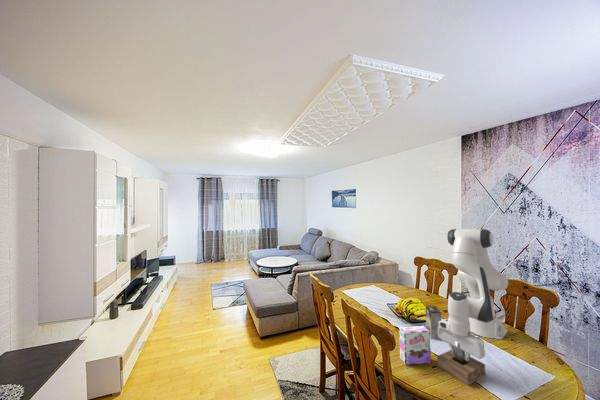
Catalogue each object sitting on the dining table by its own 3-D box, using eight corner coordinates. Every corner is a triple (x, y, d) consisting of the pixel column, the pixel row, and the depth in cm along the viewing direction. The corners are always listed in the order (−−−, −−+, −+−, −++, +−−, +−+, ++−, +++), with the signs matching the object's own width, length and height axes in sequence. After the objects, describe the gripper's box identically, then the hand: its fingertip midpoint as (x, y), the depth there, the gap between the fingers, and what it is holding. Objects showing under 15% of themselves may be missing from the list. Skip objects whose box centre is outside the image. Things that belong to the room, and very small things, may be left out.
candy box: (405, 365, 117) (404, 332, 118) (399, 358, 123) (398, 326, 124) (431, 363, 118) (430, 330, 119) (424, 356, 124) (423, 325, 125)
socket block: (454, 358, 122) (454, 348, 122) (485, 375, 110) (485, 364, 110) (437, 366, 116) (437, 356, 116) (467, 385, 104) (467, 374, 104)
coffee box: (426, 330, 149) (425, 305, 150) (436, 331, 148) (435, 306, 148) (431, 338, 140) (430, 311, 141) (442, 339, 139) (441, 312, 139)
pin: (458, 362, 116) (457, 338, 116) (467, 367, 112) (466, 342, 112) (453, 365, 114) (452, 340, 114) (462, 370, 110) (461, 344, 111)
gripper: (487, 336, 105) (488, 367, 105) (442, 317, 124) (443, 344, 124) (479, 340, 103) (480, 372, 102) (435, 320, 121) (436, 347, 121)
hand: (460, 356), depth 113 cm, fingers closed on pin, 4 cm apart
